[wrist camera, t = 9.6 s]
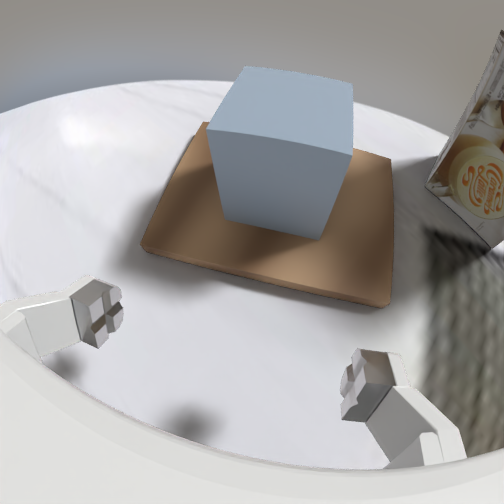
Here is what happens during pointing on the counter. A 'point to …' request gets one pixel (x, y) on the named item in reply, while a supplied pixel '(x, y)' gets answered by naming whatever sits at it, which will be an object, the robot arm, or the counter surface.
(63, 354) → the counter surface
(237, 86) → the pale blue cube
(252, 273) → the post base
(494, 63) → the coffee box
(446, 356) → the counter surface
